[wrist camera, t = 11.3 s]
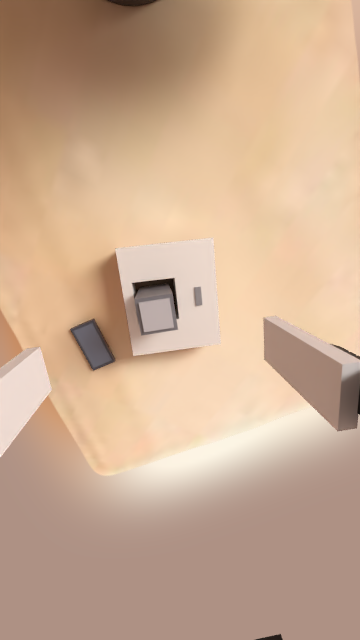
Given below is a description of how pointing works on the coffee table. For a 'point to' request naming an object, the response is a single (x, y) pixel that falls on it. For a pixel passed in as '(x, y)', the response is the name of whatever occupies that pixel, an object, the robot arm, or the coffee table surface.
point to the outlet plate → (189, 287)
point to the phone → (93, 344)
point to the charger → (155, 309)
